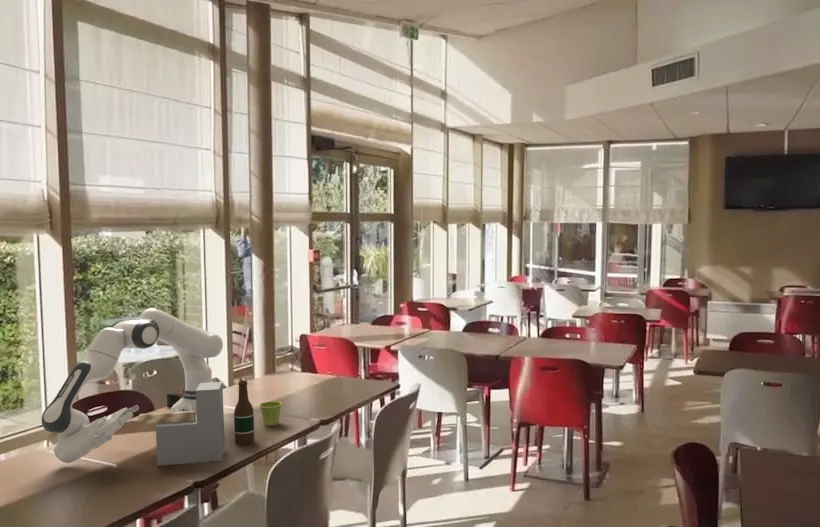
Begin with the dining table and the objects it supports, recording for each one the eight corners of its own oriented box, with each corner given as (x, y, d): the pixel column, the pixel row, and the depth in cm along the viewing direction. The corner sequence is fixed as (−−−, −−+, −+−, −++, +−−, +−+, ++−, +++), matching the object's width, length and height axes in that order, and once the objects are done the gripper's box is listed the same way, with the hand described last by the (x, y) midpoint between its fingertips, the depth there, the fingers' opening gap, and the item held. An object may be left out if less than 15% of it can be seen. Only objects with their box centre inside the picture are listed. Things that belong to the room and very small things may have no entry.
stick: (139, 424, 247) (138, 415, 247) (140, 422, 249) (140, 413, 249) (194, 420, 250) (193, 412, 250) (195, 418, 252) (194, 410, 252)
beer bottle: (249, 445, 264) (247, 383, 263) (231, 445, 266) (228, 383, 264) (258, 439, 272) (256, 379, 270) (239, 438, 273) (237, 378, 272)
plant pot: (275, 428, 286) (274, 407, 286) (255, 426, 289) (254, 406, 289) (286, 422, 295) (286, 402, 295) (267, 420, 298) (266, 400, 298)
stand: (157, 465, 244) (154, 392, 243) (163, 454, 256) (160, 385, 254) (221, 460, 248) (219, 389, 246) (224, 450, 260) (222, 381, 258)
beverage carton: (208, 399, 338) (207, 386, 337) (178, 409, 321) (178, 395, 320) (195, 397, 341) (195, 384, 341) (165, 407, 324) (165, 393, 324)
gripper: (86, 432, 235) (123, 410, 237) (102, 416, 255) (136, 396, 257) (97, 448, 236) (133, 425, 238) (112, 430, 256) (145, 410, 258)
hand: (135, 410), depth 247 cm, fingers open, 8 cm apart
